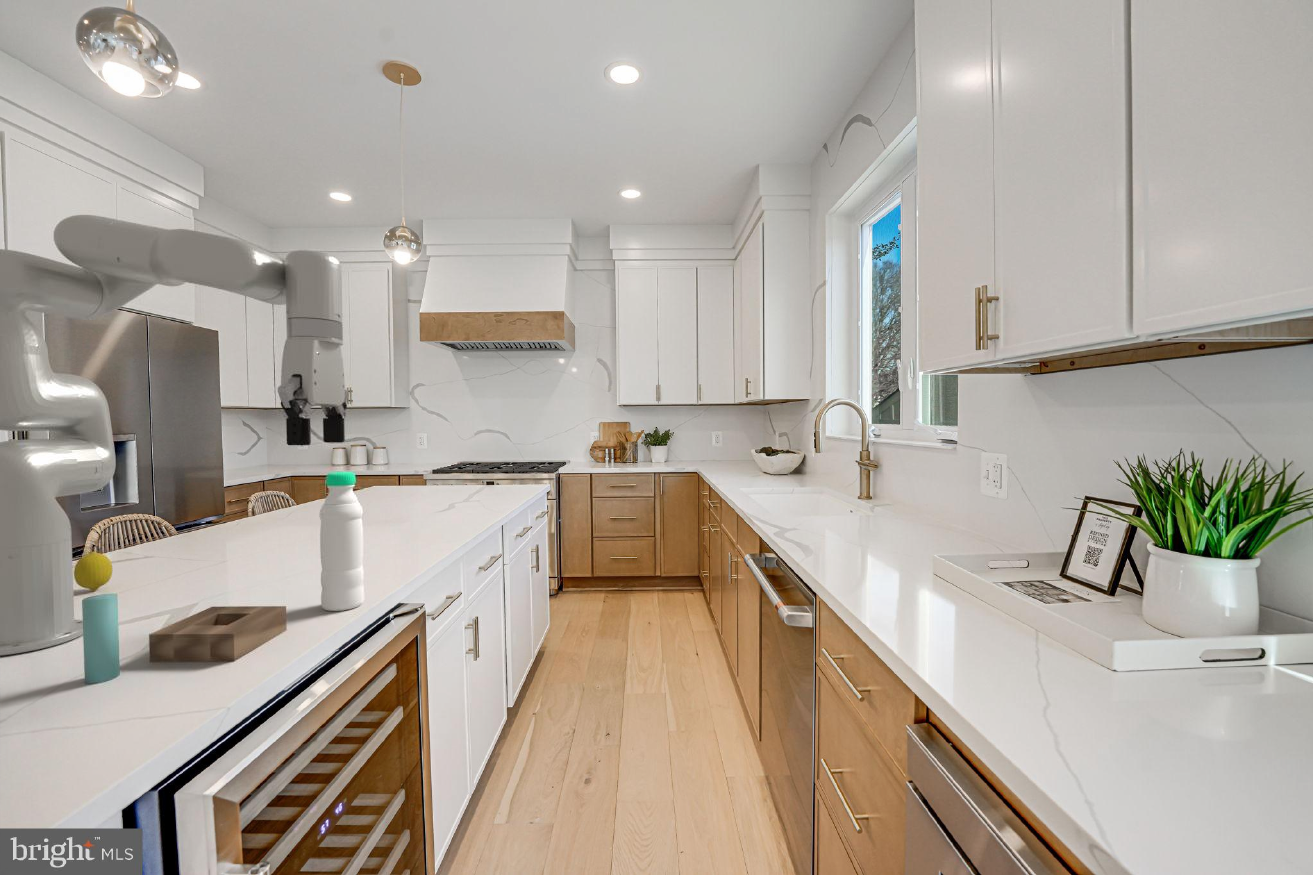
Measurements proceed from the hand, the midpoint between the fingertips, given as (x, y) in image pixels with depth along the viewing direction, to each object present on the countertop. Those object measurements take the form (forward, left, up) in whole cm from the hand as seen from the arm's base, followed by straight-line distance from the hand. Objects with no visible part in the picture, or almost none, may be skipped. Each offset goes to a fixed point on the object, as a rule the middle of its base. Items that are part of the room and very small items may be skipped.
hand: (317, 443), depth 89 cm
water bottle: (-5, +16, -31) cm, 36 cm away
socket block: (-14, -2, -31) cm, 34 cm away
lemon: (-60, +26, -31) cm, 72 cm away
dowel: (-22, -13, -31) cm, 40 cm away
